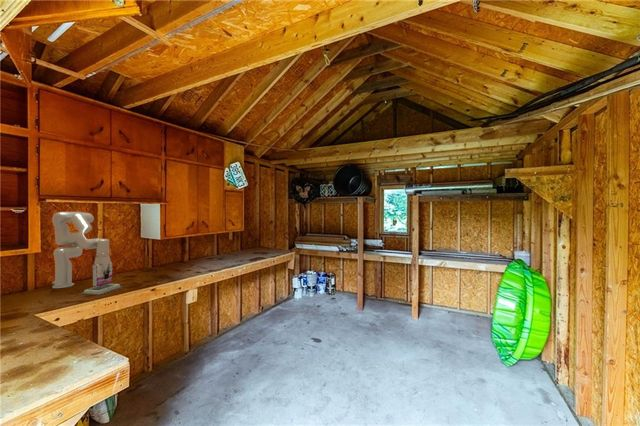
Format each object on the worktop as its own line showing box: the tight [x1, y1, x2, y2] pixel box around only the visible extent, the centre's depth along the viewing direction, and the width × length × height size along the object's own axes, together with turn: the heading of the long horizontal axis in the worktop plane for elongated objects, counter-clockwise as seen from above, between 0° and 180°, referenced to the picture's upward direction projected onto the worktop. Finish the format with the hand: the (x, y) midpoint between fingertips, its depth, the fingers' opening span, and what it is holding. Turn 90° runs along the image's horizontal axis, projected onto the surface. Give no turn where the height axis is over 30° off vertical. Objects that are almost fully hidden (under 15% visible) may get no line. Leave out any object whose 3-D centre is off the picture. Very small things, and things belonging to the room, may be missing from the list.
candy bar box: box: [92, 261, 113, 287], centre depth 200 cm, size 11×5×16 cm, turn 162°
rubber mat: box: [79, 285, 124, 296], centre depth 200 cm, size 16×20×1 cm
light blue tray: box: [83, 283, 121, 294], centre depth 200 cm, size 12×18×2 cm, turn 175°
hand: (102, 278), depth 200 cm, fingers closed on candy bar box, 5 cm apart
